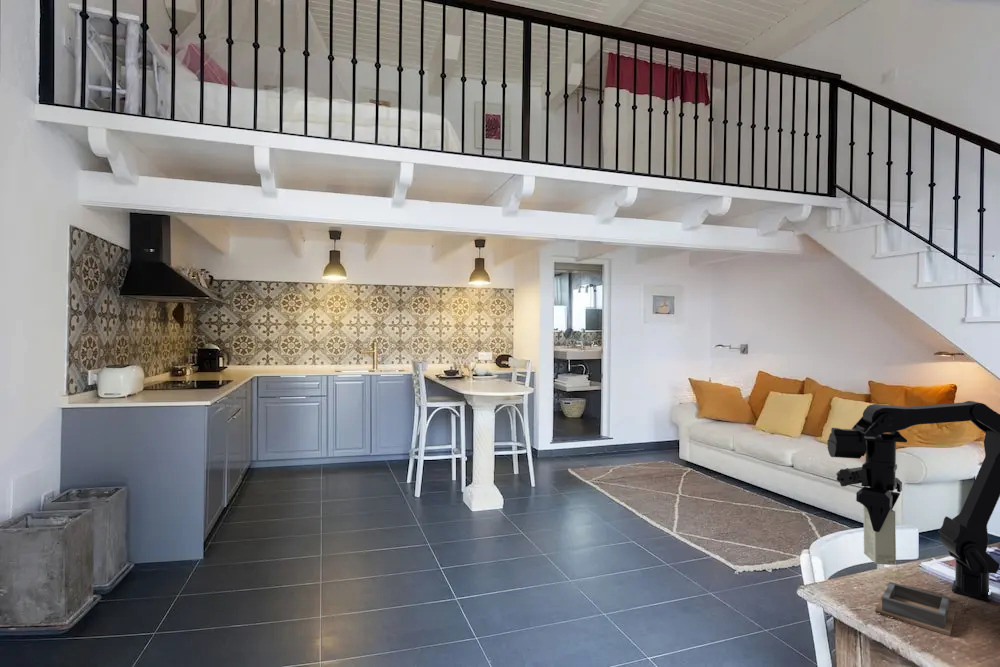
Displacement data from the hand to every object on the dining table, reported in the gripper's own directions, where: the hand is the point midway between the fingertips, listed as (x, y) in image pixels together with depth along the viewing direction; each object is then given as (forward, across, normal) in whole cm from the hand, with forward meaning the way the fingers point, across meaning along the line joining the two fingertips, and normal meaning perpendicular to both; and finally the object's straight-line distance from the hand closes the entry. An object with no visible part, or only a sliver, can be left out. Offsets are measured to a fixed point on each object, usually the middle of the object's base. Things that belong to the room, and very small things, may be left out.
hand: (879, 527), depth 126 cm
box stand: (+13, +11, +8) cm, 19 cm away
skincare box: (+8, 0, 0) cm, 8 cm away
